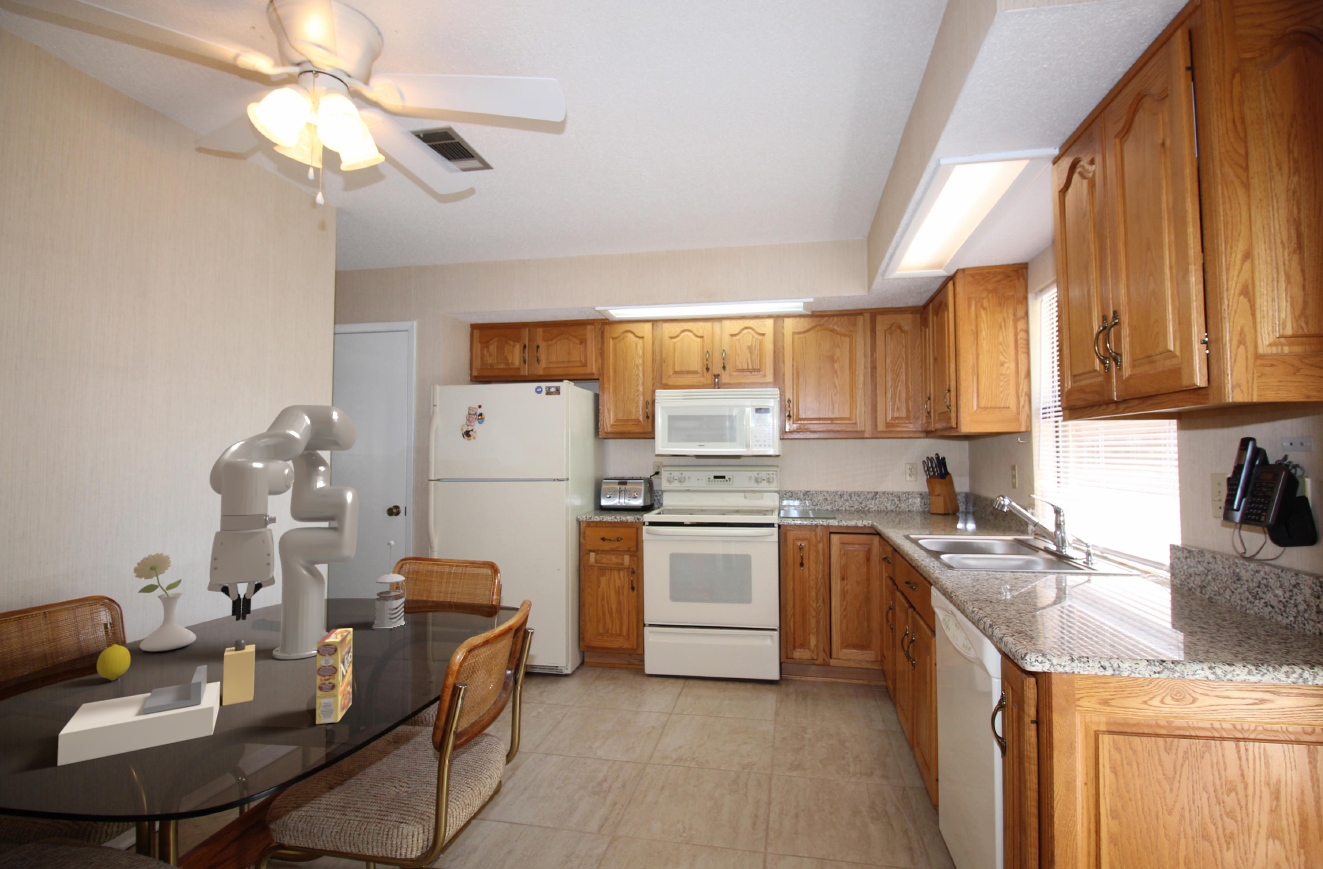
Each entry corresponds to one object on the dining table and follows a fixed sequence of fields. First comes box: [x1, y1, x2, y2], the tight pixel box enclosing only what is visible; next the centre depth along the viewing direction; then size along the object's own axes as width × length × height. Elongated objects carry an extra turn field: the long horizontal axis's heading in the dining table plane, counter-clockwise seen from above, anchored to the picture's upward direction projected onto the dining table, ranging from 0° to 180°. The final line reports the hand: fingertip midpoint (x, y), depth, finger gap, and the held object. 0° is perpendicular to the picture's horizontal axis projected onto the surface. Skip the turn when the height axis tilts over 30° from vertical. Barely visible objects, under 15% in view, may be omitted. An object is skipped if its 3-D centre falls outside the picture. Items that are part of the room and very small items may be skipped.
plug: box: [222, 638, 256, 707], centre depth 122 cm, size 5×5×12 cm
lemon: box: [96, 643, 131, 682], centre depth 132 cm, size 6×6×8 cm
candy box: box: [315, 627, 353, 725], centre depth 115 cm, size 9×4×15 cm, turn 13°
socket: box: [57, 681, 221, 767], centre depth 107 cm, size 20×14×5 cm
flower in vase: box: [133, 552, 197, 652], centre depth 154 cm, size 13×11×25 cm
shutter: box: [143, 664, 208, 714], centre depth 109 cm, size 8×10×4 cm
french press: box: [372, 540, 407, 628], centre depth 176 cm, size 10×12×25 cm
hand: (241, 618), depth 115 cm, fingers closed
